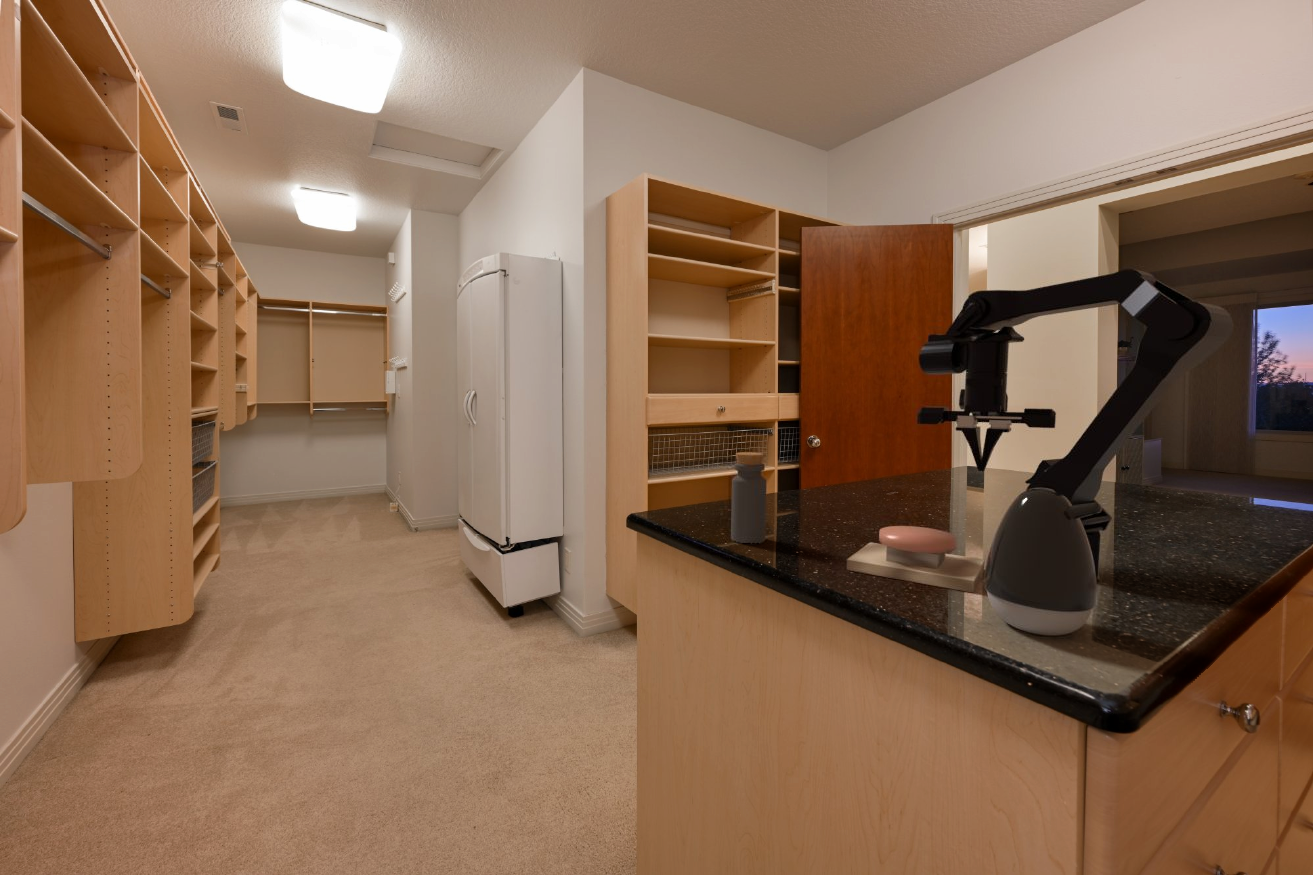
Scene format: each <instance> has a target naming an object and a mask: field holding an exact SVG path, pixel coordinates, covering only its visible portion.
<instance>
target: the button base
mask: <svg viewBox="0 0 1313 875" xmlns="http://www.w3.org/2000/svg"><path fill="white" fill-rule="evenodd" d="M985 562H986V561H985V558H979V557H971V556H965V555H960V554H959V555H956V554H951V553H947V552H946V553H919V552H911V551H904V550H899V549H895V548H892V547H888V546H886V545H884V544H882V543H876V542H869V543H866V545H865V546H863V547H862V548H860V549H859V550H858V551H856V552H855V553H854V554H852V555H851V556H850V557H848V558H846V571H851V572H856V573H861V574H867V575H873V576H878V577H884V578H890V579H895V580H901V581H906V582H912V583H917V584H918V583H919V584H923V585H927V586H928V585H929V586H935V587H940V588H946V589H952V590H957V591H963V592H968V593H974V592H975V590H976V588H977V585H978V583H979V582H980V579H981V577H982V575H983V573H984V572H985Z"/></svg>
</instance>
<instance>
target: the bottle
mask: <svg viewBox="0 0 1313 875" xmlns="http://www.w3.org/2000/svg"><path fill="white" fill-rule="evenodd" d="M764 456H765V454H764V453H762V452H754V451H753V452H752V451H751V452H749V451H748V452H747V451H746V452H745V451H744V452H743V451H742V452H736V453H735V457H736V463H734V470H736V471H737V475H735V476H734V477H733V478H732V479H731V512H730V513H731V517H730V518H731V523H730V524H731V525H730V526H731V527H730V538H731V541H732V540H733V542H734V541H736V542H735V543H737V542H740V543H739V544H742V543H751V544H750V545H753V544H752V543H755V544H754V545H757V544H756V543H759V544H763V543H765V542H764V541H766V532H767V531H766V530H767V528H766V527H767V526H766V525H767V479H766V478H765V477H764V476H762V471H765V468H766V465H765V464H764V463H763V459H764ZM762 542H763V543H762Z"/></svg>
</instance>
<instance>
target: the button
mask: <svg viewBox="0 0 1313 875" xmlns="http://www.w3.org/2000/svg"><path fill="white" fill-rule="evenodd" d="M878 533H879V535H878V541H879V543H880V544H884V545H886V546H888V547H892V548H895V549H899V550H904V551H911V552H919V553H946V554H947V553H950V552H955V550H956V549H957V536H955V535H954V534H953V533H950V532H947V531H944V530H939V529H937V528H936V529H935V528H931V527H925V526H924V527H921V526H912V525H910V526H908V525H895V526H894V525H891V526H886V527H882V528H880V529H879V532H878Z"/></svg>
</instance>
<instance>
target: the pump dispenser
mask: <svg viewBox="0 0 1313 875" xmlns="http://www.w3.org/2000/svg"><path fill="white" fill-rule="evenodd" d="M1097 502H1098V501H1097ZM1097 502H1095V503H1088V504H1081V505H1073V506H1072V504H1071V503H1070V501H1069V500H1068V499H1067V498H1066V497H1065V496H1064V495H1063V494H1061V493H1059V492H1057V491H1055V490H1052V489H1049V488H1033V489H1029V490H1026V489H1025V491H1022V492H1020V493H1019V494H1018V495H1017V496H1016V497H1015V499H1014V500H1013V501H1012V502H1011V503H1010V505H1009V506H1008V508H1007V510H1006V511H1005V513H1004V514H1003V517H1002V518H1001V521H1000V522H999V524H998V526H997V528H996V531H995V533H994V536H993V538H992V542H991V544H990V547H989V552H988V554H987V560H986V565H985V567H984V575H983V587H984V590H986V592H987V597H988V600H989V603H990V605H991V607H992V609H993V610H994V612H995V614H996V615H998V617H999V618H1000V619H1002V621H1004V622H1005V623H1007V624H1008V625H1010V626H1012V627H1014V628H1015V629H1018V630H1021V631H1023V632H1027V633H1030V634H1034V635H1040V636H1062V635H1067V634H1071V633H1073V632H1076V631H1077V630H1078V629H1080V628H1081V627H1083V625H1085V623H1086V622H1087V621H1088V619H1089V617H1090V616H1091V613H1092V611H1093V609H1094V608H1096V607H1097V603H1098V587H1097V586H1098V582H1096V573H1095V566H1094V561H1093V556H1092V552H1091V548H1090V544H1089V541H1088V538H1087V535H1086V532H1085V530H1084V527H1083V525H1082V522H1081V520H1080V518H1082V517H1086V516H1089V515H1093V514H1095V513H1100V512H1101V511H1102V508H1103V507H1101V506H1102V505H1101V504H1100V503H1099V502H1098V503H1097Z"/></svg>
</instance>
